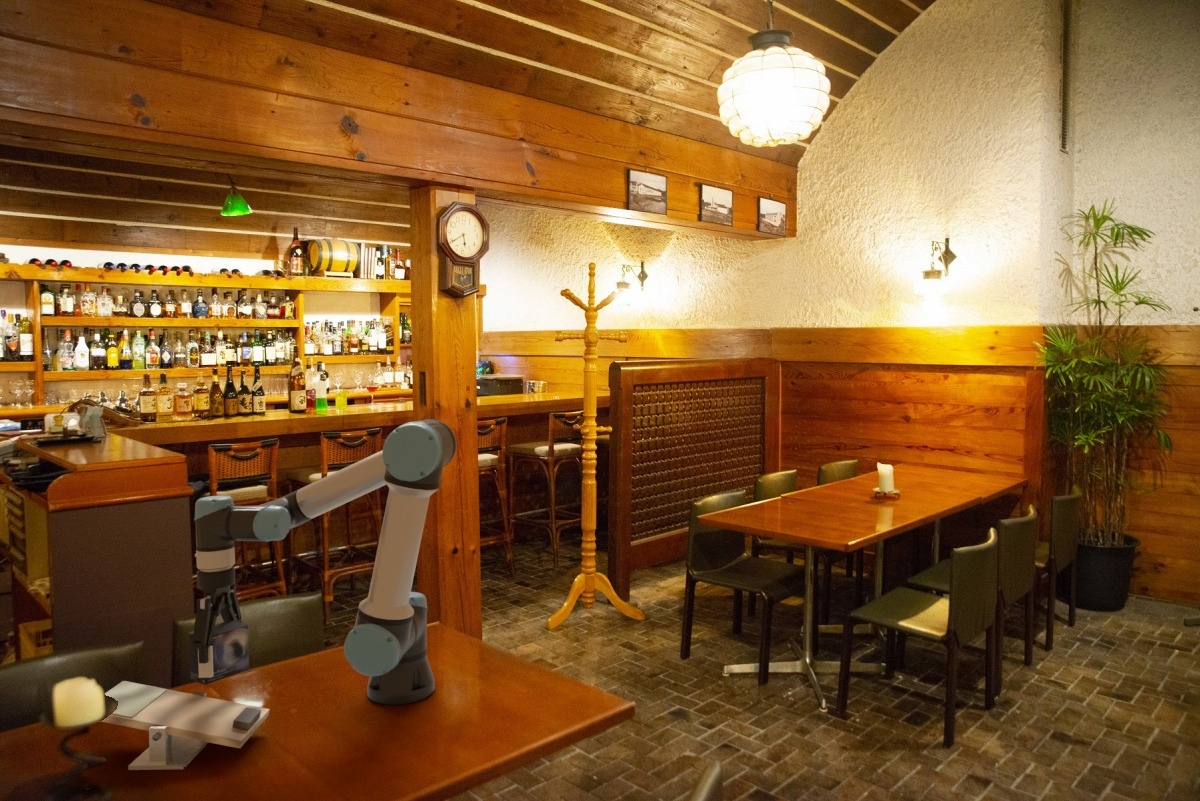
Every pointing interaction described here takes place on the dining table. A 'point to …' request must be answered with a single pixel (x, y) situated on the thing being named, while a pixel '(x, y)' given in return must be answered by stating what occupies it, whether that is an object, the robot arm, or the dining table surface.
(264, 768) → the dining table surface
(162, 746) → the pivot stand
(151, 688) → the balance beam
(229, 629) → the small box
